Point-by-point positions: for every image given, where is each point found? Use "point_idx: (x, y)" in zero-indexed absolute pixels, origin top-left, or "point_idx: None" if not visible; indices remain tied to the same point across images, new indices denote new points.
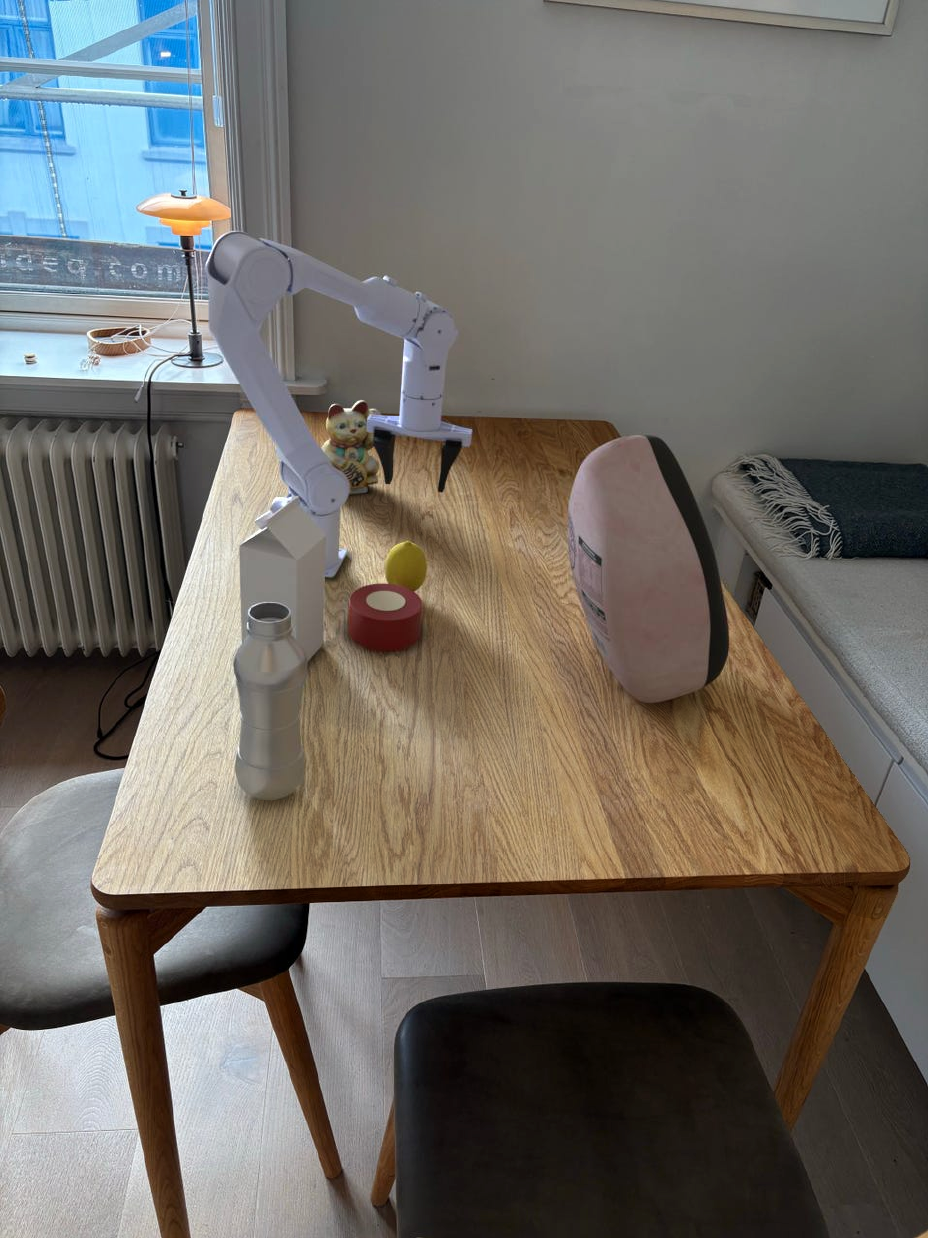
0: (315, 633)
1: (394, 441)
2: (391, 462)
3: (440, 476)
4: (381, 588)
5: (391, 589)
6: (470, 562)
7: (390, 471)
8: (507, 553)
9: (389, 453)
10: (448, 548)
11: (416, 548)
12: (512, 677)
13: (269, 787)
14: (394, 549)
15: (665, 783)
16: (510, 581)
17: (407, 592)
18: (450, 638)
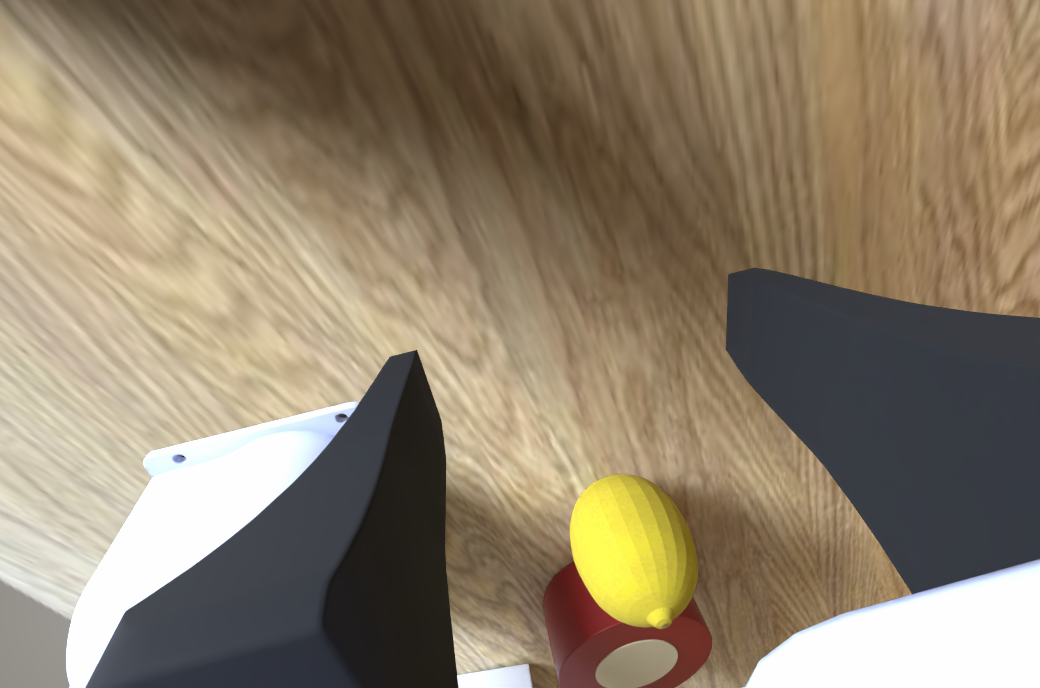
0: None
1: (378, 539)
2: (418, 468)
3: (800, 433)
4: (610, 642)
5: (633, 635)
6: (746, 233)
7: (435, 461)
8: (877, 85)
9: (446, 633)
10: (656, 173)
11: (686, 605)
12: (848, 572)
13: None
14: (619, 620)
15: None
16: (871, 280)
17: (670, 625)
18: (736, 547)
